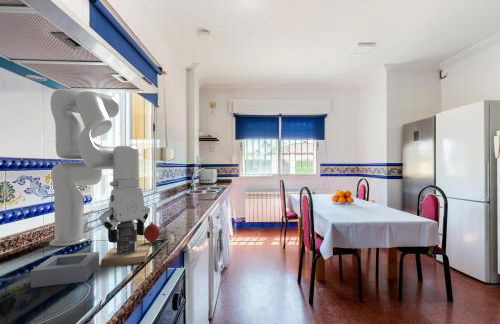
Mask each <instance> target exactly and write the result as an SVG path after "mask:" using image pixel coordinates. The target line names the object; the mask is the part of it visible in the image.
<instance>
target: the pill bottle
mask: <svg viewBox="0 0 500 324" xmlns="http://www.w3.org/2000/svg"><path fill="white" fill-rule="evenodd" d="M136 223H137V222H135V220H131V221H126V222H119V223H118V225H117V226H116V229H117V242H116V248H117V253H118V254H130V253H133V252H135V251H137V246H138V235H137V224H136Z"/></svg>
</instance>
